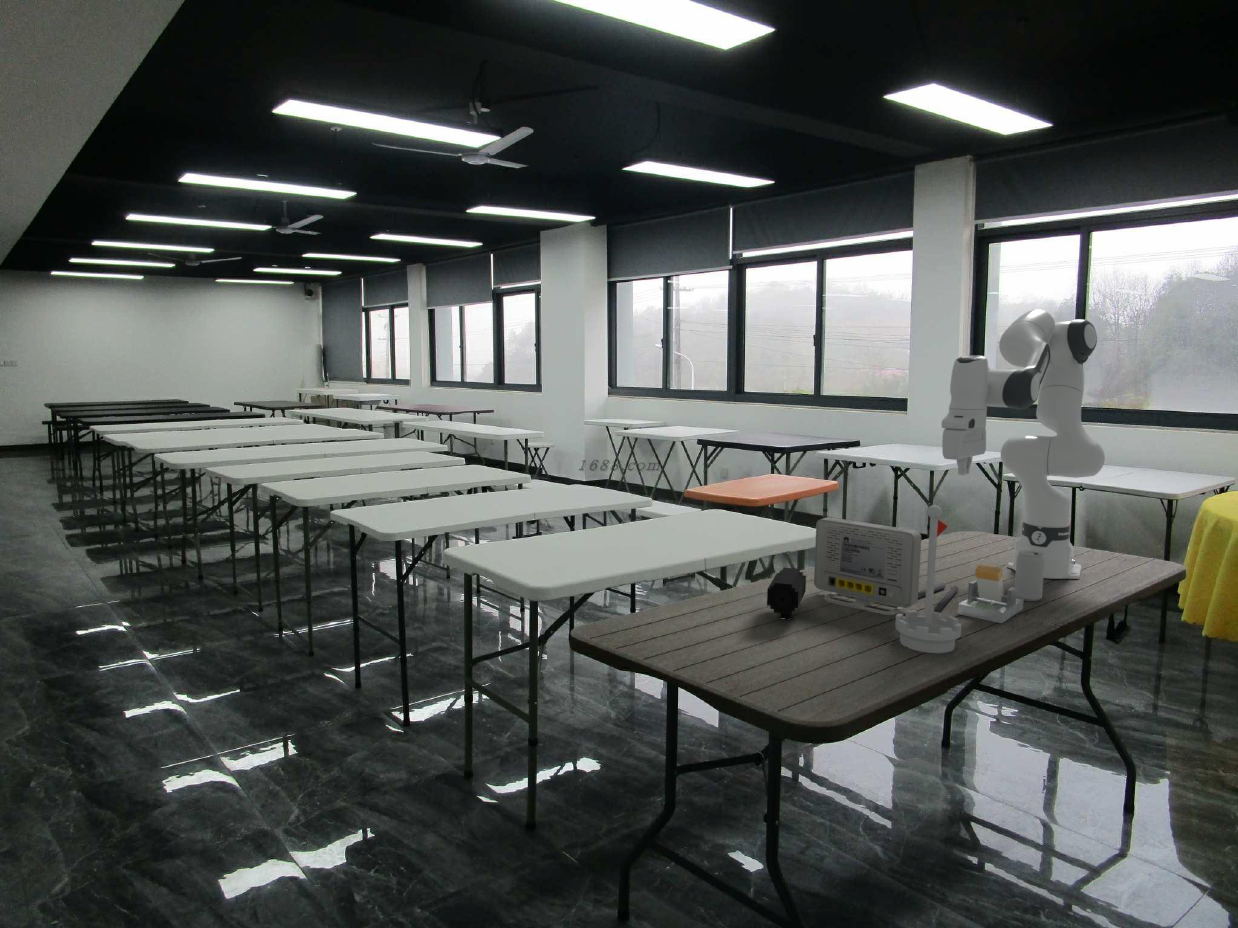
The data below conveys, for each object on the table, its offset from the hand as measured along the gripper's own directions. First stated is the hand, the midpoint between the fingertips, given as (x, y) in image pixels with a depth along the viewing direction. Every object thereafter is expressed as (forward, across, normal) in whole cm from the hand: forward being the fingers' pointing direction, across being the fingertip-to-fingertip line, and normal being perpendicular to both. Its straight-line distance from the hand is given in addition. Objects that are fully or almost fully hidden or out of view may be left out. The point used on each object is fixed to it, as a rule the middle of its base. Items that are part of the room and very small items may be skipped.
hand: (963, 474), depth 208 cm
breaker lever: (+28, +10, +12) cm, 32 cm away
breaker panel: (+31, +10, +12) cm, 35 cm away
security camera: (+31, +47, -22) cm, 61 cm away
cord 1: (+31, +7, -5) cm, 32 cm away
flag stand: (+31, +43, +10) cm, 54 cm away
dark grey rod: (+31, +9, +1) cm, 32 cm away
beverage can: (+31, -8, +15) cm, 36 cm away
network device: (+31, +26, -13) cm, 43 cm away
